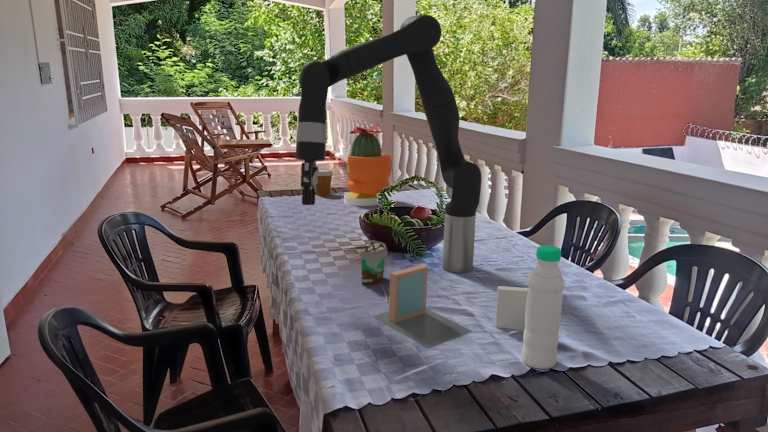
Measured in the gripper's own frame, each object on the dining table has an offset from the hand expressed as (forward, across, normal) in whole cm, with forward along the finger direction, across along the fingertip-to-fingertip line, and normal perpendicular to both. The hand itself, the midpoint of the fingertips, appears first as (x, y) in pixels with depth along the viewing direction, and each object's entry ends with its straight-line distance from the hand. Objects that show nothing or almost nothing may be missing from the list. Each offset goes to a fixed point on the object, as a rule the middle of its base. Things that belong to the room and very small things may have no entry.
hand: (308, 204), depth 144 cm
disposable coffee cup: (-3, +126, +9) cm, 127 cm away
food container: (+21, +17, -18) cm, 32 cm away
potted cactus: (-1, +112, -14) cm, 113 cm away
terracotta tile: (+26, -8, -26) cm, 38 cm away
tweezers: (+24, +8, -21) cm, 33 cm away
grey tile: (+27, -13, -51) cm, 59 cm away
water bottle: (+30, -29, -53) cm, 67 cm away
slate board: (+27, -12, -29) cm, 42 cm away
